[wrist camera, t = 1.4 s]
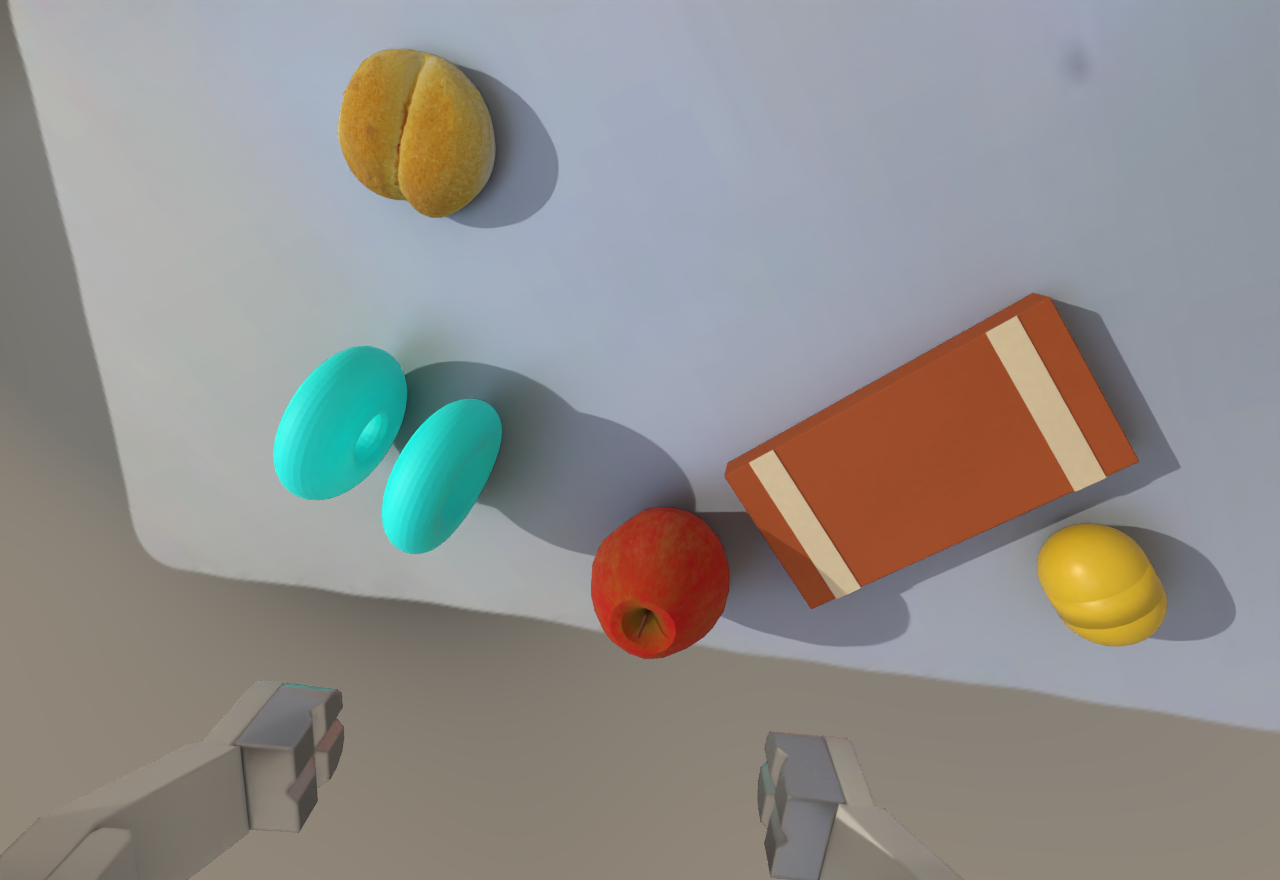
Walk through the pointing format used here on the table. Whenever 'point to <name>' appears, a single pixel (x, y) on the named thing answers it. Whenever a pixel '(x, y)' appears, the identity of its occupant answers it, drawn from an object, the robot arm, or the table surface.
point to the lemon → (1102, 584)
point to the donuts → (386, 446)
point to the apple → (659, 582)
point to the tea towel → (932, 453)
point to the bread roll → (417, 131)
